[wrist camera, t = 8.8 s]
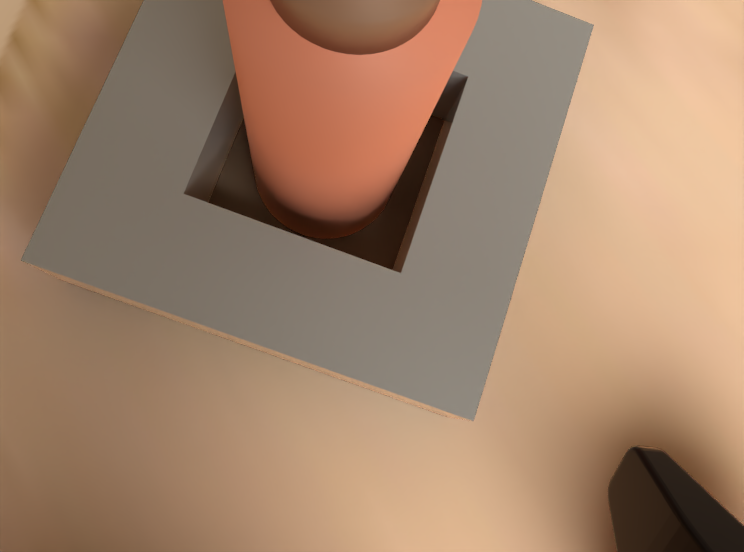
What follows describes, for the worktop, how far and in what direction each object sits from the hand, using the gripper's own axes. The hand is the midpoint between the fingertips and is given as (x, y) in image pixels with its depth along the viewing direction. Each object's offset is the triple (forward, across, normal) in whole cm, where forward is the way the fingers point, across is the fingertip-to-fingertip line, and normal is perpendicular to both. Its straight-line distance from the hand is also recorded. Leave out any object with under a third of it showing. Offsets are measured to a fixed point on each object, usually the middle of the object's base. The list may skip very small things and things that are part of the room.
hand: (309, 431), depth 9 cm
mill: (+13, 0, +2) cm, 13 cm away
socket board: (+13, 0, +2) cm, 13 cm away
